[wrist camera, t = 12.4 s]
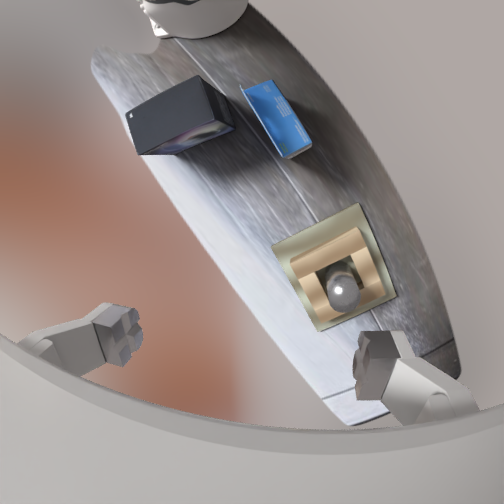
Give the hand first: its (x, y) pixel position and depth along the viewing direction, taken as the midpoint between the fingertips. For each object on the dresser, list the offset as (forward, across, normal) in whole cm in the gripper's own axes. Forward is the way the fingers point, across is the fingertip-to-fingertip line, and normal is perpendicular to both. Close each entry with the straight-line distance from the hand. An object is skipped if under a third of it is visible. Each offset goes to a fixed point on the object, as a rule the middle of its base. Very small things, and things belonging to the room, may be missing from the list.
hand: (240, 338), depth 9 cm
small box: (+31, +13, -12) cm, 36 cm away
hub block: (+31, -8, +9) cm, 33 cm away
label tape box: (+31, +1, -11) cm, 33 cm away
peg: (+30, -8, +9) cm, 33 cm away
